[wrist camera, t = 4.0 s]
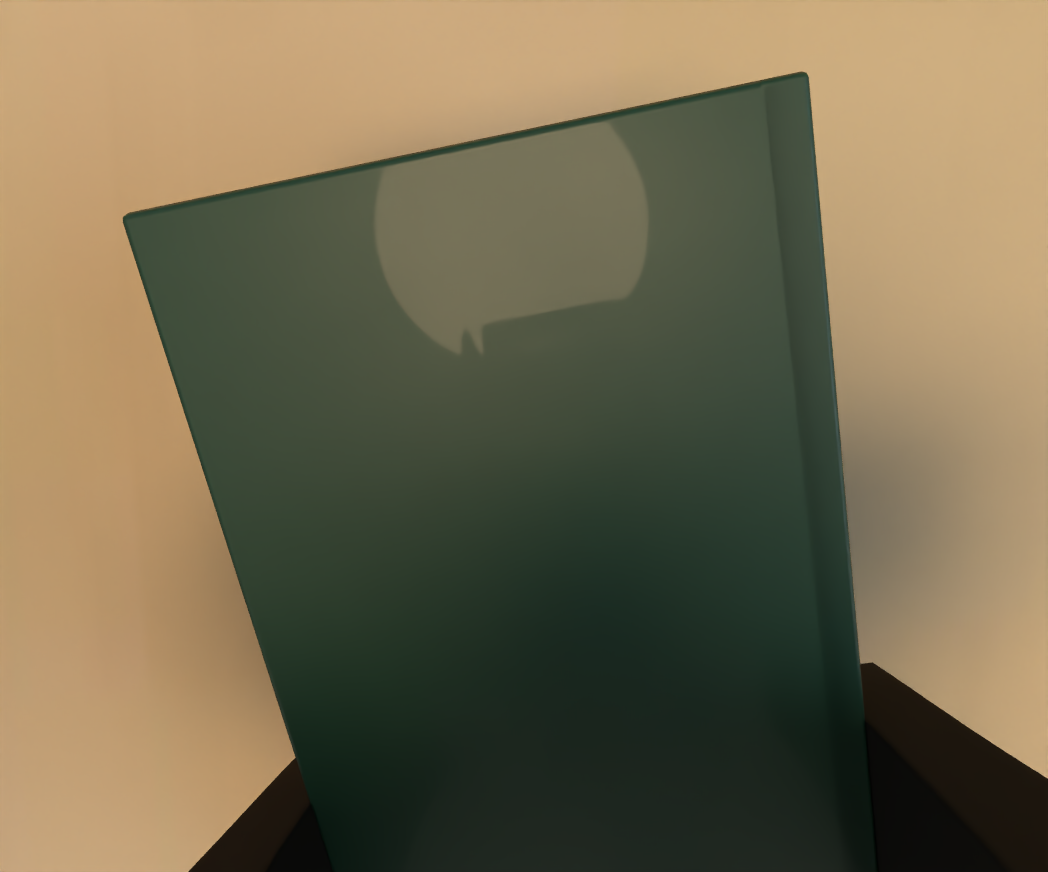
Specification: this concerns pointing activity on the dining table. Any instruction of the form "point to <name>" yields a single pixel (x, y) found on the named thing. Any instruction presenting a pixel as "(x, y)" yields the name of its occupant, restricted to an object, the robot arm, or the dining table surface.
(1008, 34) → the dining table surface
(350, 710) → the book
